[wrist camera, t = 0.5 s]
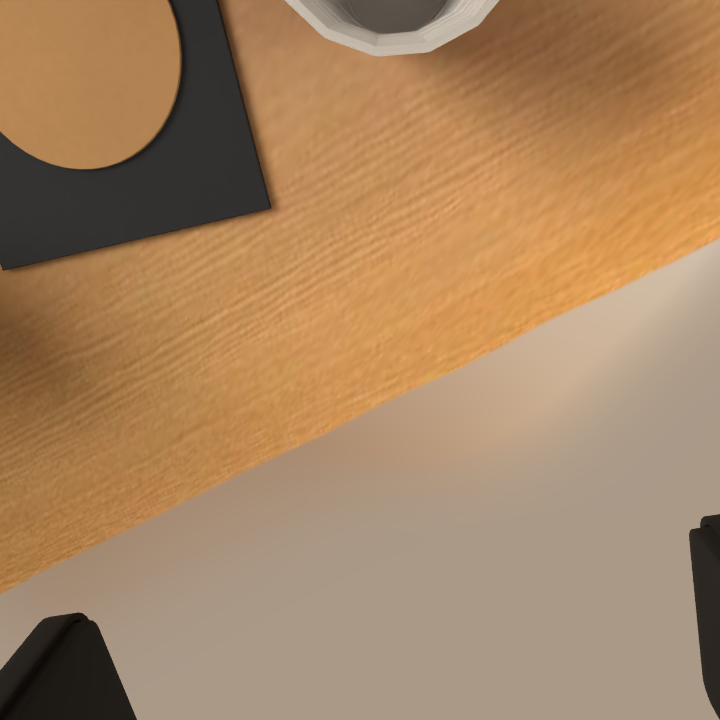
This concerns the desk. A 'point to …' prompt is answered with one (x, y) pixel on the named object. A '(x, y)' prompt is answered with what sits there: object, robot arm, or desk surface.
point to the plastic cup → (392, 22)
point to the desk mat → (118, 125)
